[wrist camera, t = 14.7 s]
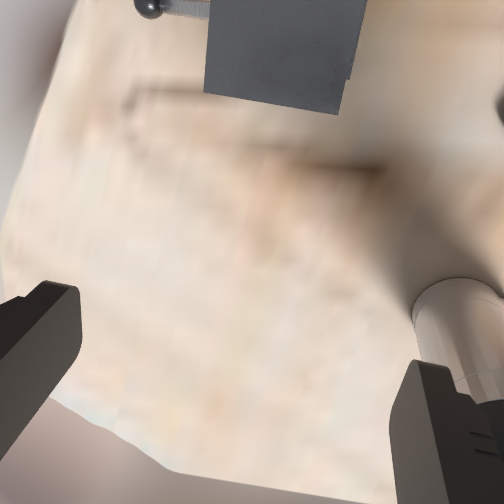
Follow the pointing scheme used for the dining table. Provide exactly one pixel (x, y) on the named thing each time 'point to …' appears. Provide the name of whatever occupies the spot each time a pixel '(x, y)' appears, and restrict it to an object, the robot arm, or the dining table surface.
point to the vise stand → (274, 47)
